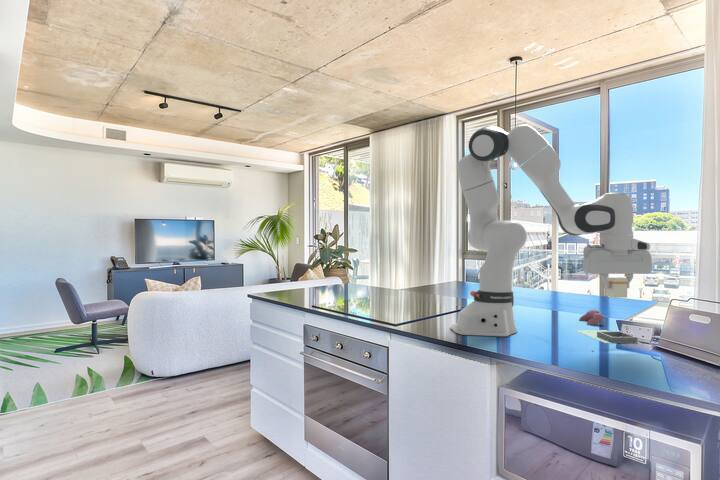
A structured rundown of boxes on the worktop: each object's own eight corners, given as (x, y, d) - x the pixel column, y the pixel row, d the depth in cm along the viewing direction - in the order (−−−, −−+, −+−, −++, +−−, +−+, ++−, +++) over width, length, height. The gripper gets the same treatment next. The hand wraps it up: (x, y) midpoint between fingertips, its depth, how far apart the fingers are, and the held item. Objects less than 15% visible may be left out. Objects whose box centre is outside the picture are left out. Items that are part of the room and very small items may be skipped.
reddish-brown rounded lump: (598, 332, 149) (608, 315, 148) (586, 326, 149) (595, 309, 149) (588, 326, 158) (597, 310, 158) (577, 321, 159) (586, 305, 159)
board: (604, 346, 124) (604, 337, 124) (574, 333, 141) (574, 325, 141) (640, 345, 124) (640, 337, 124) (606, 333, 141) (606, 325, 141)
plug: (613, 297, 126) (613, 278, 126) (605, 295, 130) (605, 277, 130) (627, 297, 126) (627, 278, 126) (618, 295, 130) (618, 277, 130)
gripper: (589, 244, 125) (589, 289, 125) (655, 244, 125) (655, 289, 125) (578, 244, 131) (578, 287, 131) (641, 244, 131) (641, 286, 132)
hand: (616, 288), depth 128 cm, fingers closed on plug, 4 cm apart
